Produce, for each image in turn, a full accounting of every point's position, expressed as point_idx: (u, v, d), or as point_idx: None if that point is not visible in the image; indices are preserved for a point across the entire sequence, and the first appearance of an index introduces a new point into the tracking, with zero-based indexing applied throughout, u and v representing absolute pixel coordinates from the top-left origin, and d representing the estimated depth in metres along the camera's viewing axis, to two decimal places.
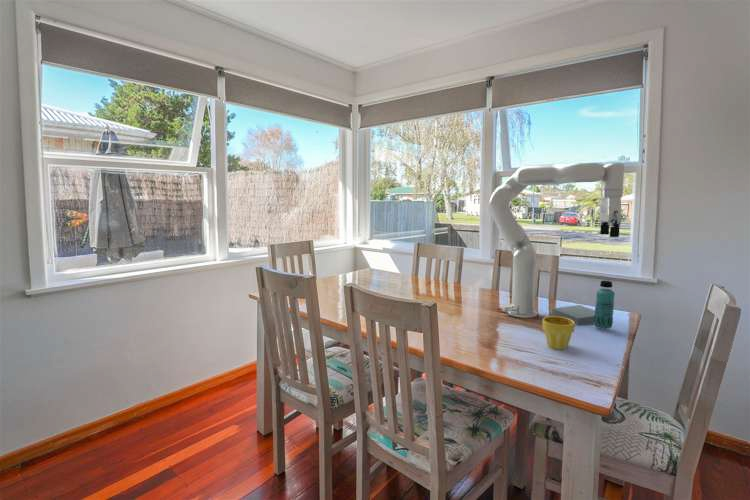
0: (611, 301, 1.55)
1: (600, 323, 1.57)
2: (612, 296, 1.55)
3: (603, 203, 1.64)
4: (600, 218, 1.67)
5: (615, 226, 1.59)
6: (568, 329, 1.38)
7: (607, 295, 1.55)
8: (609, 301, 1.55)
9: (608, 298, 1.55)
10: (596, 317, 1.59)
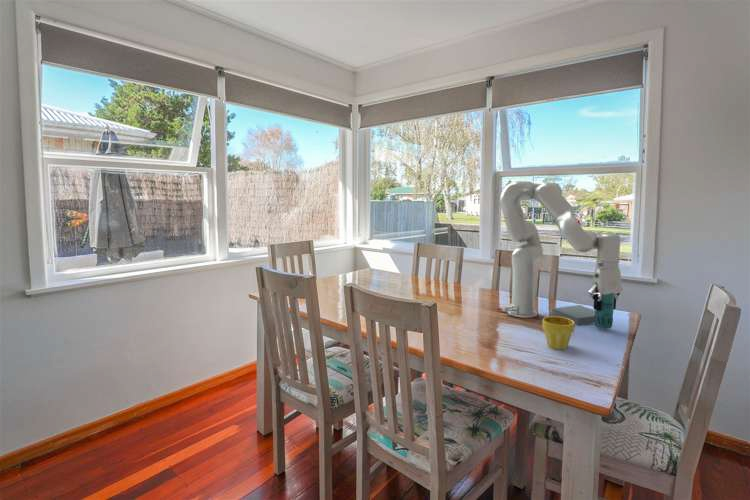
0: (611, 301, 1.55)
1: (600, 323, 1.57)
2: (612, 296, 1.55)
3: (611, 276, 1.54)
4: (606, 292, 1.54)
5: None
6: (568, 329, 1.38)
7: (607, 295, 1.55)
8: (609, 301, 1.55)
9: (609, 298, 1.55)
10: (596, 317, 1.59)
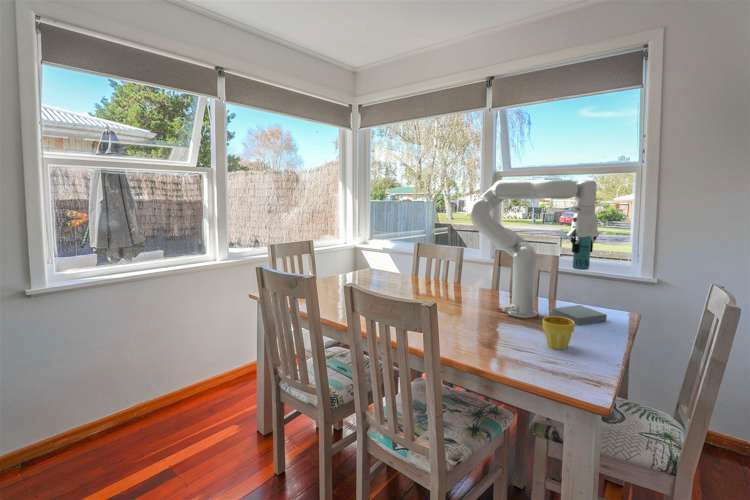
0: (588, 244, 1.67)
1: (577, 265, 1.69)
2: (589, 239, 1.67)
3: (588, 219, 1.65)
4: (583, 235, 1.66)
5: None
6: (568, 329, 1.38)
7: (584, 238, 1.66)
8: (586, 243, 1.67)
9: (585, 240, 1.66)
10: (574, 260, 1.71)
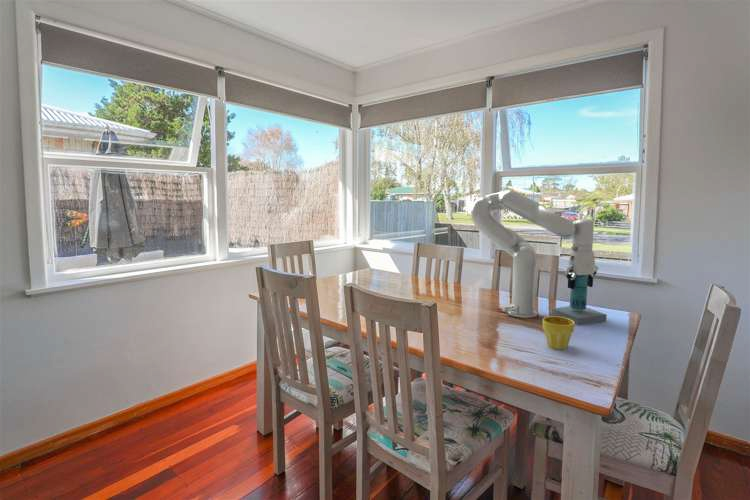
0: (584, 284, 1.70)
1: (574, 305, 1.72)
2: (585, 280, 1.70)
3: (586, 258, 1.68)
4: (581, 273, 1.68)
5: None
6: (568, 329, 1.38)
7: (581, 279, 1.69)
8: (583, 284, 1.69)
9: (582, 282, 1.69)
10: (571, 300, 1.73)
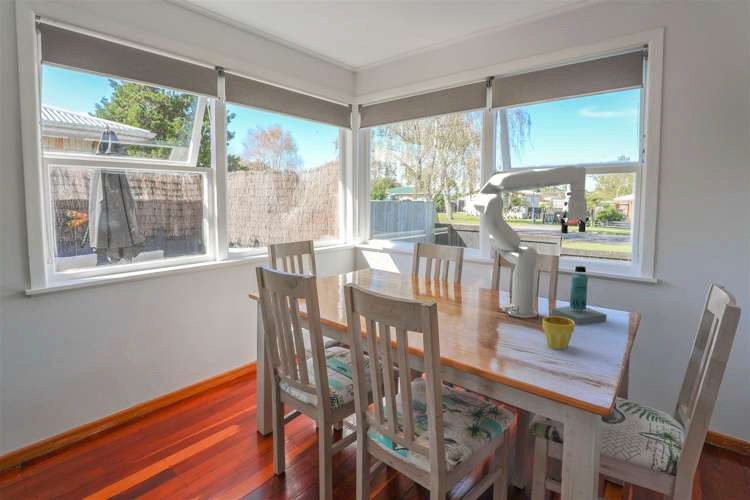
0: (585, 285, 1.70)
1: (574, 305, 1.72)
2: (585, 280, 1.69)
3: (578, 203, 1.76)
4: (573, 218, 1.77)
5: None
6: (568, 329, 1.38)
7: (581, 279, 1.69)
8: (583, 284, 1.69)
9: (582, 282, 1.69)
10: (571, 300, 1.73)
